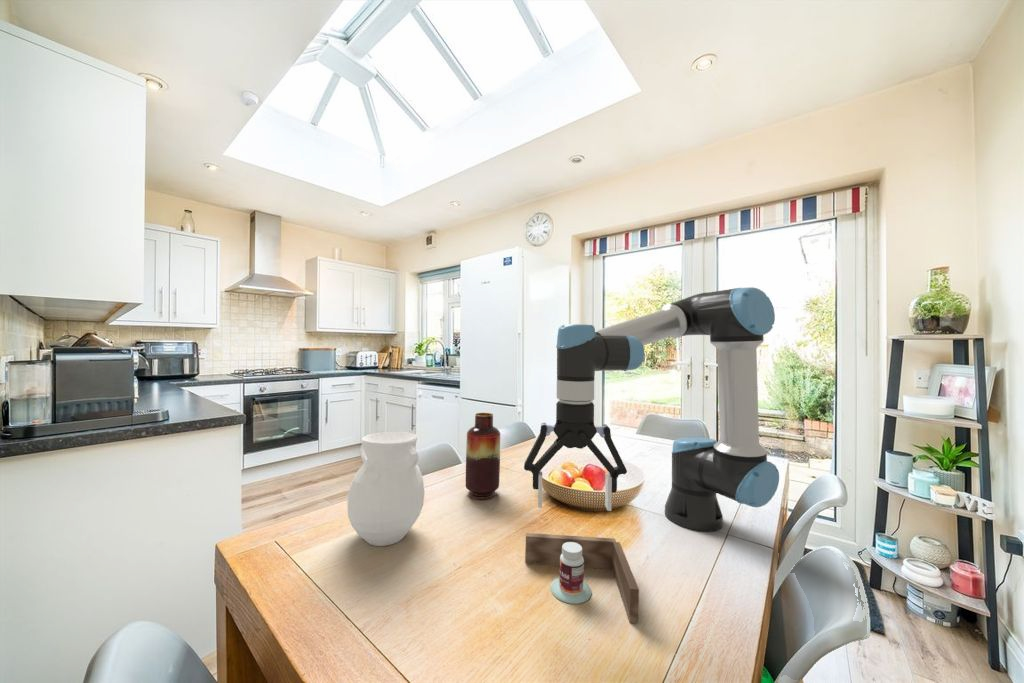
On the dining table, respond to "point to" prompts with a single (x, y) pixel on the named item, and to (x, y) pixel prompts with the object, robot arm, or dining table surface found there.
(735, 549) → the dining table surface
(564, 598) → the disc
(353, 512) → the white vase
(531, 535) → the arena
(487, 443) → the vase
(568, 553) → the pill bottle
